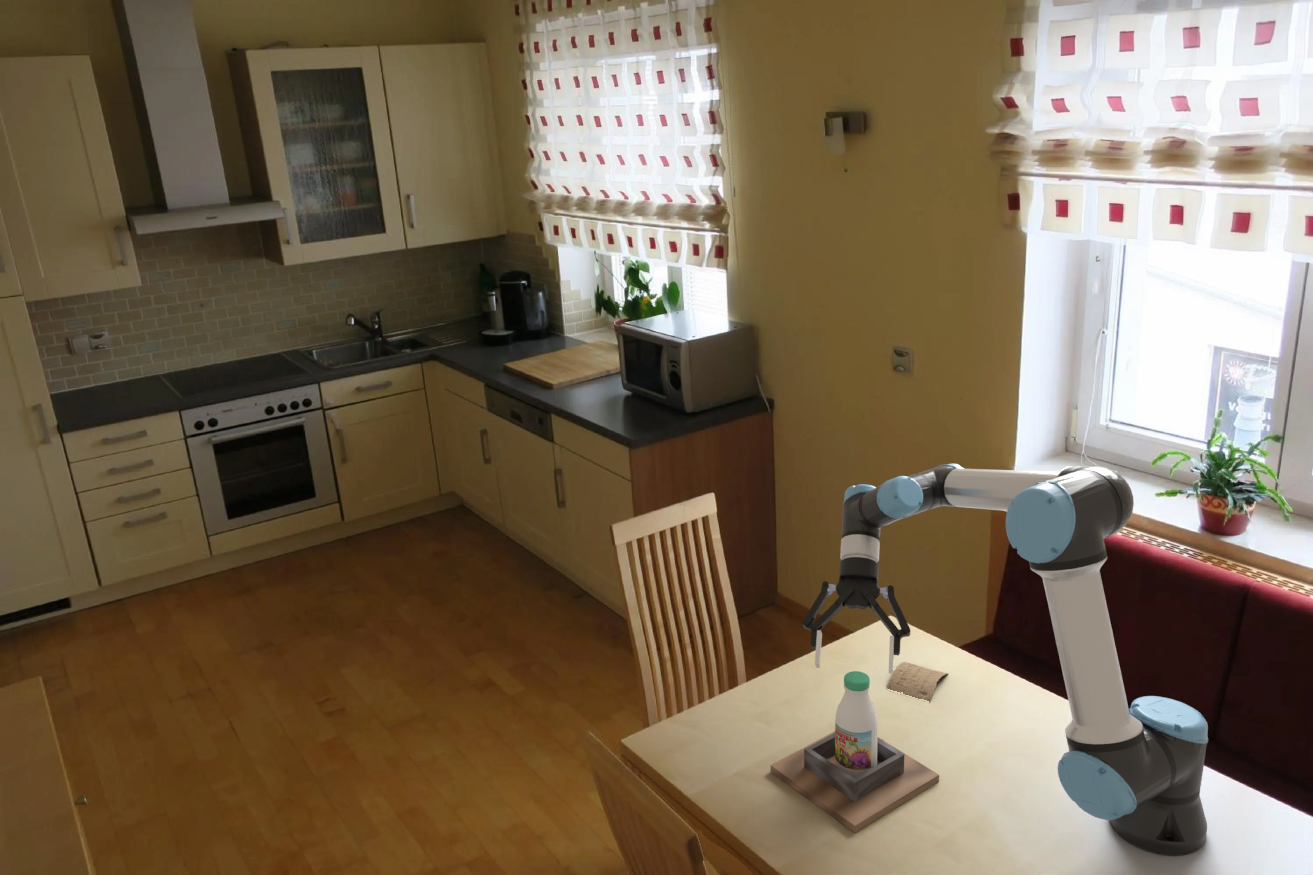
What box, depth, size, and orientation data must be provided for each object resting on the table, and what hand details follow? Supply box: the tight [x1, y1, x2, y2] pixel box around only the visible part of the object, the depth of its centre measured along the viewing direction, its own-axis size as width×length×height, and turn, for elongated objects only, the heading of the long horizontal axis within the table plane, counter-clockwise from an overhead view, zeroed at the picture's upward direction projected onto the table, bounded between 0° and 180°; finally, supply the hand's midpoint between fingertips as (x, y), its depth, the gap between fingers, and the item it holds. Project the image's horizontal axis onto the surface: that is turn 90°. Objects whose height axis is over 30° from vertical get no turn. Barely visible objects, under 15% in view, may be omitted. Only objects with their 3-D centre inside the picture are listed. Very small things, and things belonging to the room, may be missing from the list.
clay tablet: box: [886, 661, 948, 703], centre depth 221 cm, size 14×10×3 cm
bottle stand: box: [770, 730, 940, 833], centre depth 191 cm, size 22×22×6 cm
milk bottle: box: [834, 670, 879, 778], centre depth 188 cm, size 8×8×20 cm
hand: (853, 668), depth 192 cm, fingers open, 13 cm apart
